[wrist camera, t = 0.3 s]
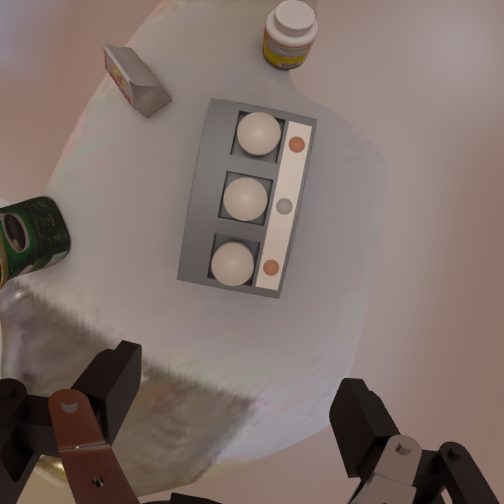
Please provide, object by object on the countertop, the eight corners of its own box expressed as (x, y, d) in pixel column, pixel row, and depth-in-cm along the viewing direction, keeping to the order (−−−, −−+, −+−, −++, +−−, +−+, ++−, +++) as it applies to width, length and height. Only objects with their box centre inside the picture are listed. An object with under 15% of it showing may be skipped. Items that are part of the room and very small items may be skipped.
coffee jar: (19, 215, 36) (-73, 234, 18) (52, 188, 36) (-46, 195, 17) (43, 273, 38) (-43, 317, 20) (78, 250, 37) (-13, 291, 19)
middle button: (229, 175, 33) (228, 173, 30) (269, 182, 34) (271, 182, 31) (222, 214, 34) (219, 216, 31) (261, 221, 35) (262, 224, 32)
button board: (213, 105, 34) (210, 97, 31) (311, 124, 35) (317, 118, 32) (182, 272, 38) (176, 280, 35) (276, 290, 39) (279, 299, 36)
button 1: (217, 236, 35) (215, 241, 32) (256, 244, 35) (257, 249, 32) (211, 274, 36) (208, 281, 33) (248, 281, 36) (249, 289, 33)
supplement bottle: (281, 28, 32) (291, -14, 22) (314, 54, 33) (334, 16, 23) (252, 53, 33) (254, 13, 23) (286, 79, 34) (299, 45, 24)
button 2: (242, 115, 32) (241, 108, 29) (281, 122, 32) (284, 116, 29) (234, 152, 33) (233, 148, 30) (273, 160, 33) (276, 157, 30)
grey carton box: (145, 65, 33) (118, 33, 23) (172, 100, 34) (148, 73, 24) (123, 82, 33) (90, 55, 23) (148, 118, 34) (118, 97, 25)
